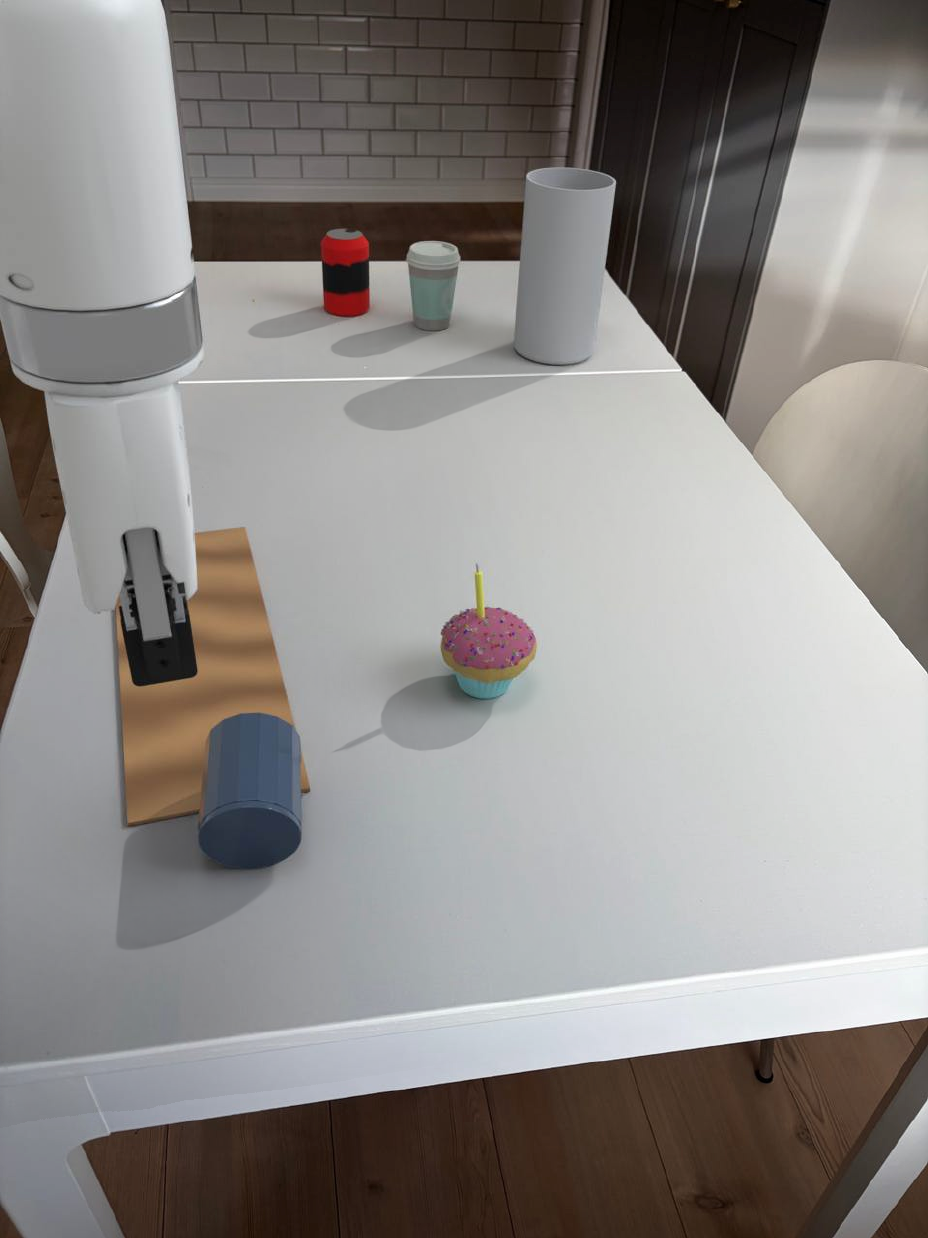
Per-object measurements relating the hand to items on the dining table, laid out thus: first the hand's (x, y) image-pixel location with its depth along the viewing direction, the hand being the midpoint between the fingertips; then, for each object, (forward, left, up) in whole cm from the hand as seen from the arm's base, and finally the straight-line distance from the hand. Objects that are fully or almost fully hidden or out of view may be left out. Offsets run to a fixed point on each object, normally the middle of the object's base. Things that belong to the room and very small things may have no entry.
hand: (164, 671), depth 51 cm
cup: (+7, +3, -22) cm, 24 cm away
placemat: (+25, +23, -26) cm, 43 cm away
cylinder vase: (+110, +23, -26) cm, 115 cm away
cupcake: (+35, -3, -26) cm, 44 cm away
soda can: (+107, +59, -26) cm, 125 cm away
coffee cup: (+109, +44, -26) cm, 121 cm away
